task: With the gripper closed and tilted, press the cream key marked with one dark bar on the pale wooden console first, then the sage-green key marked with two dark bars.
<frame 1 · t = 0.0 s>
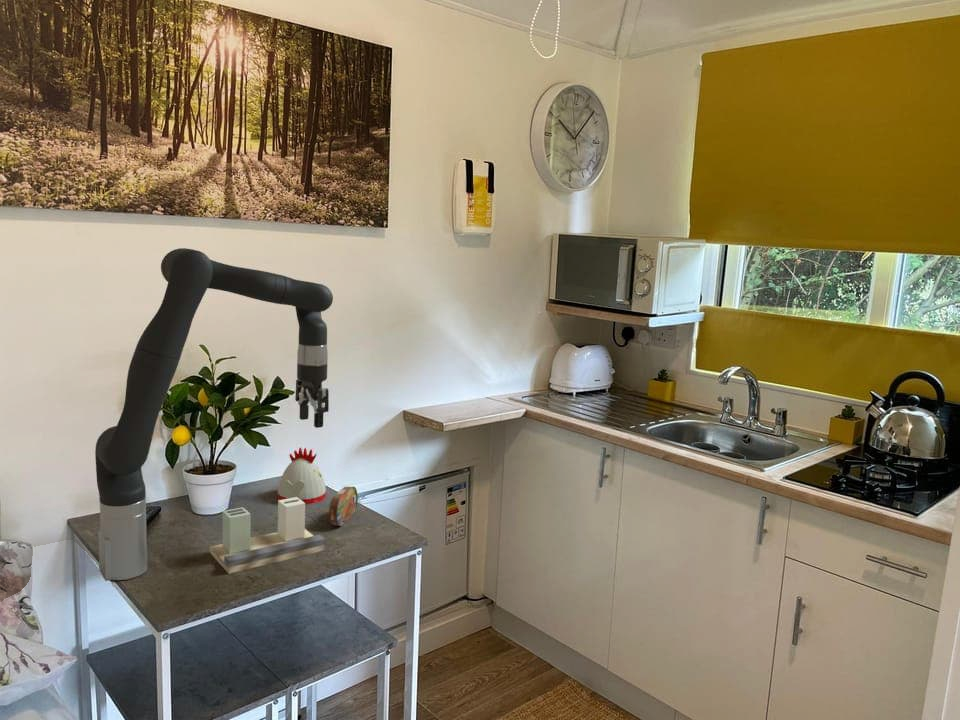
hand: (311, 423, 187), 29 cm above the table, tool pointing down, fingers open, 8 cm apart
key two: (236, 529, 175), point 6 cm above the table, slide at 0.0 cm
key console: (265, 549, 180), on the table
kitchen timer: (301, 496, 216), on the table
tin: (343, 520, 201), on the table
key one: (291, 518, 184), point 6 cm above the table, slide at 0.0 cm
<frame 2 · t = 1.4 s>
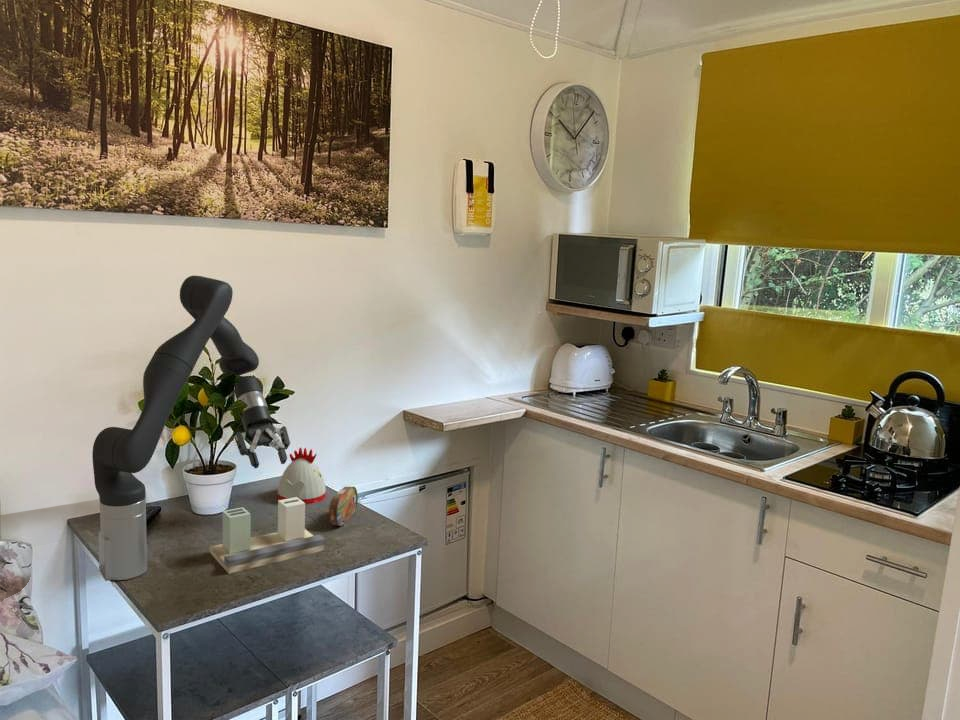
hand: (270, 464, 192), 17 cm above the table, tool tilted 45°, fingers open, 7 cm apart
nothing on the table moved.
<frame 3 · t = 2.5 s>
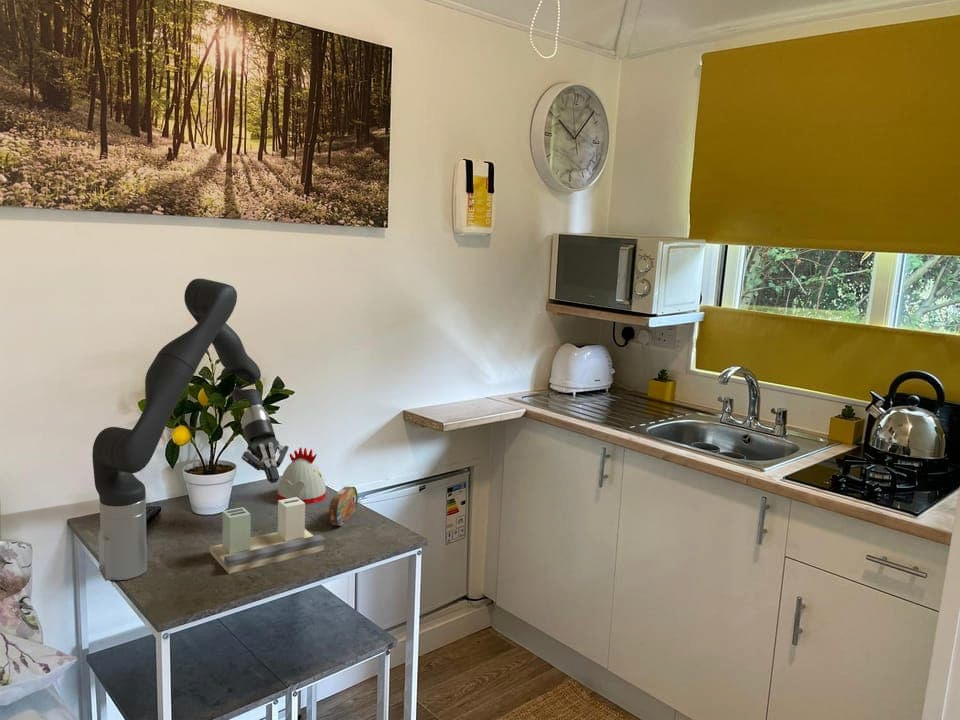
hand: (274, 481, 191), 13 cm above the table, tool tilted 45°, fingers closed
nothing on the table moved.
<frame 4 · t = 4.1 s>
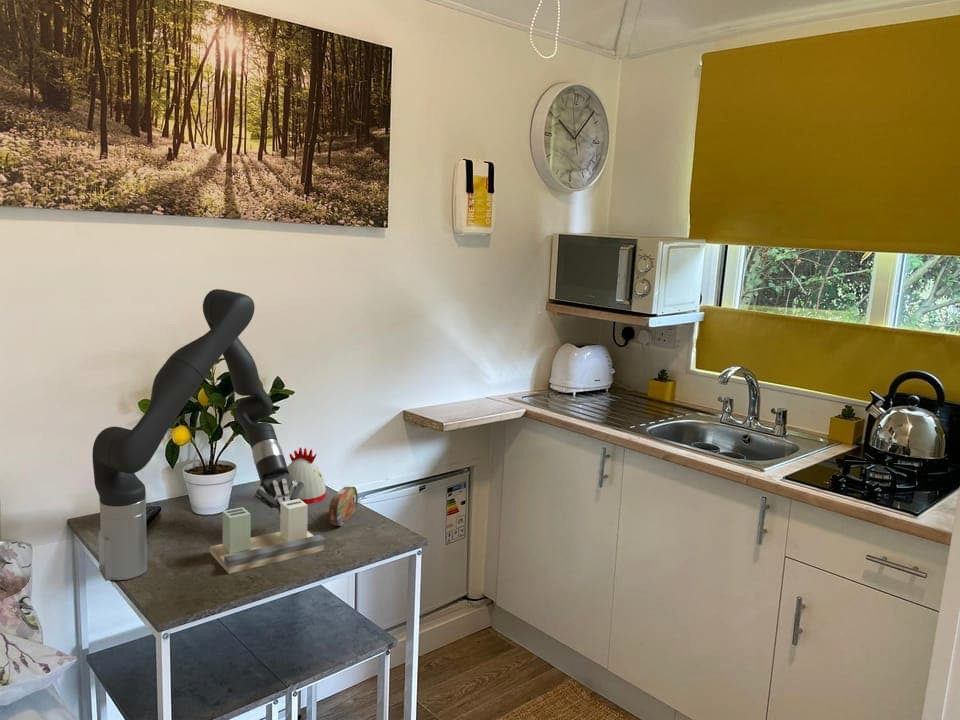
hand: (288, 519, 185), 5 cm above the table, tool tilted 45°, fingers closed
key one: (293, 520, 183), point 6 cm above the table, slide at 1.5 cm, touching gripper
everything else where it was.
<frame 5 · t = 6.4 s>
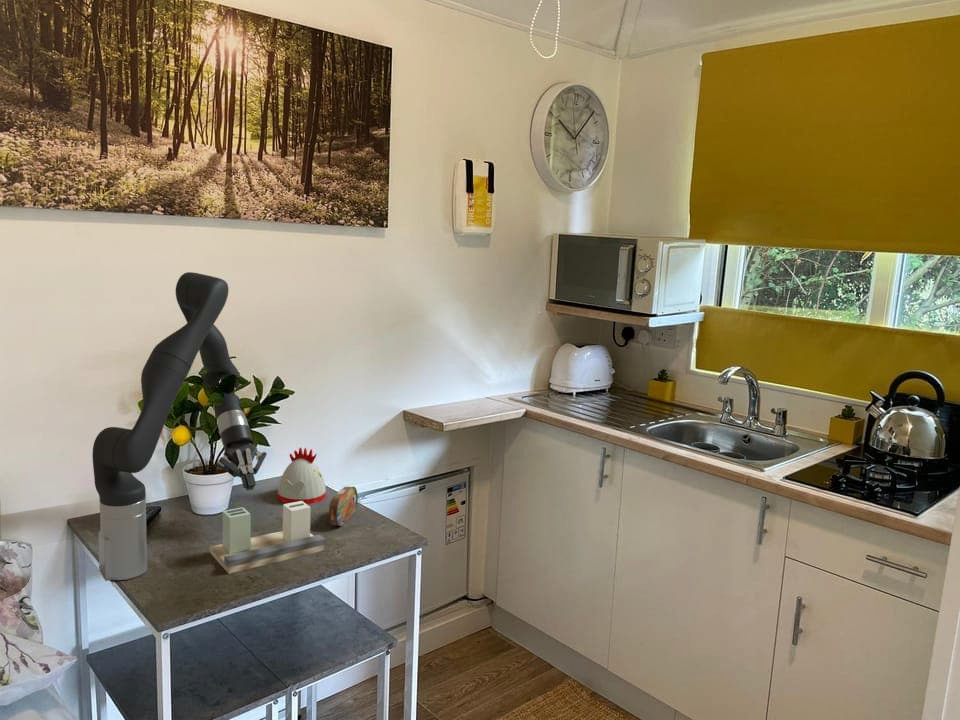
hand: (250, 488, 186), 12 cm above the table, tool tilted 45°, fingers closed
key one: (296, 522, 181), point 6 cm above the table, slide at 3.0 cm
everything else where it was.
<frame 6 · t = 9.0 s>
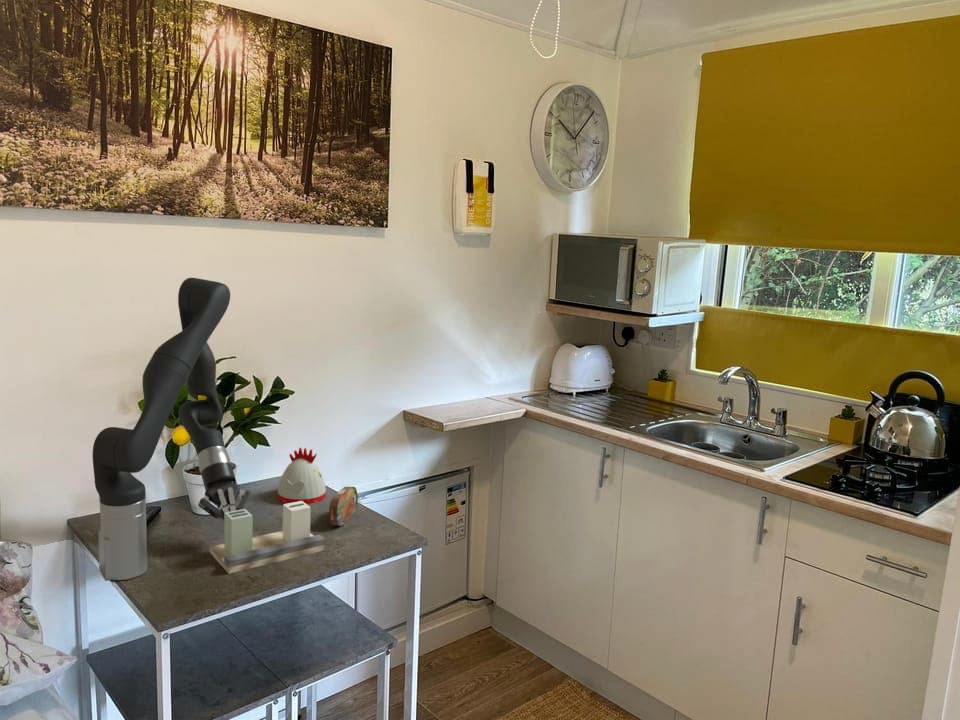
hand: (233, 530, 176), 5 cm above the table, tool tilted 45°, fingers closed
key two: (238, 531, 174), point 6 cm above the table, slide at 1.2 cm, touching gripper
everything else where it was.
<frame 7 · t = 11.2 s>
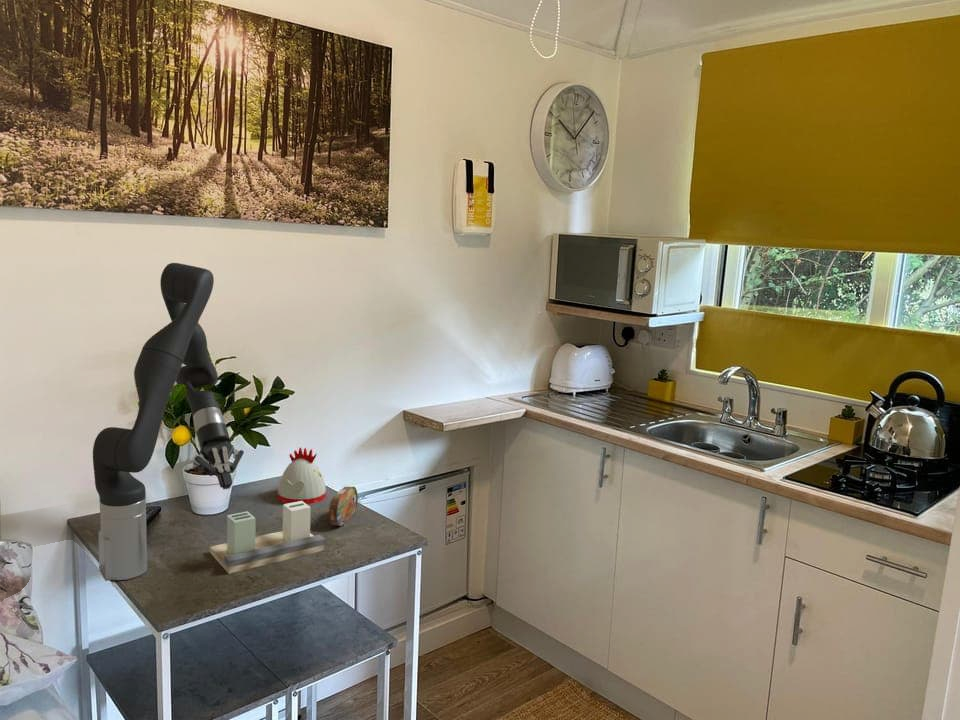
hand: (227, 487, 182), 14 cm above the table, tool tilted 45°, fingers closed
key two: (241, 534, 173), point 6 cm above the table, slide at 3.0 cm
everything else where it was.
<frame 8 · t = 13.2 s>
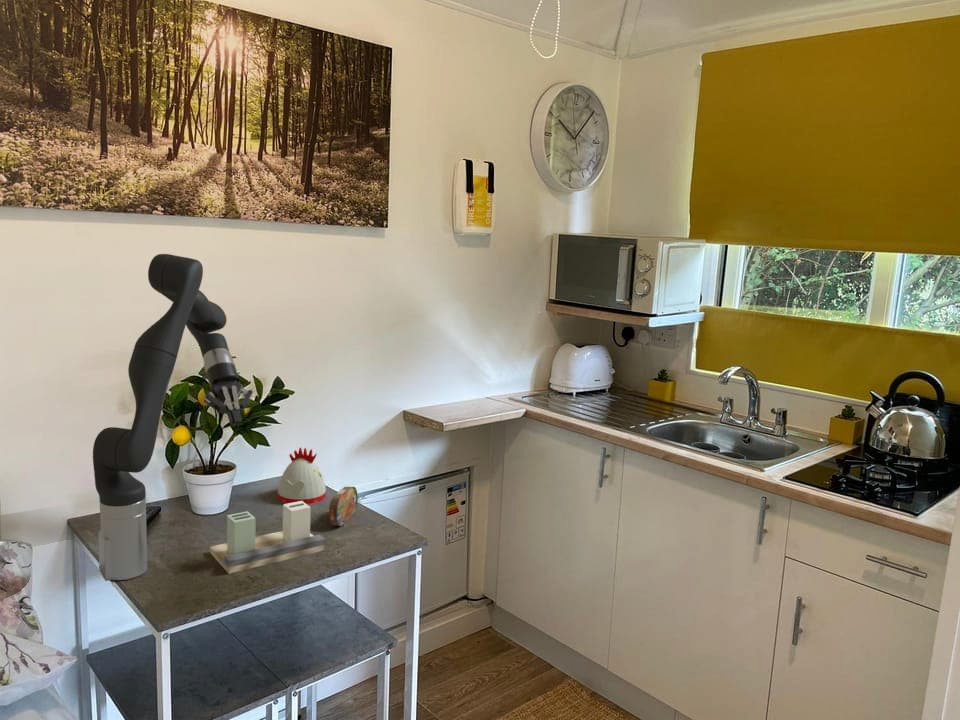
hand: (237, 424, 187), 28 cm above the table, tool tilted 45°, fingers closed
nothing on the table moved.
at the end: key one slide at 3.0 cm; key two slide at 3.0 cm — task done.
